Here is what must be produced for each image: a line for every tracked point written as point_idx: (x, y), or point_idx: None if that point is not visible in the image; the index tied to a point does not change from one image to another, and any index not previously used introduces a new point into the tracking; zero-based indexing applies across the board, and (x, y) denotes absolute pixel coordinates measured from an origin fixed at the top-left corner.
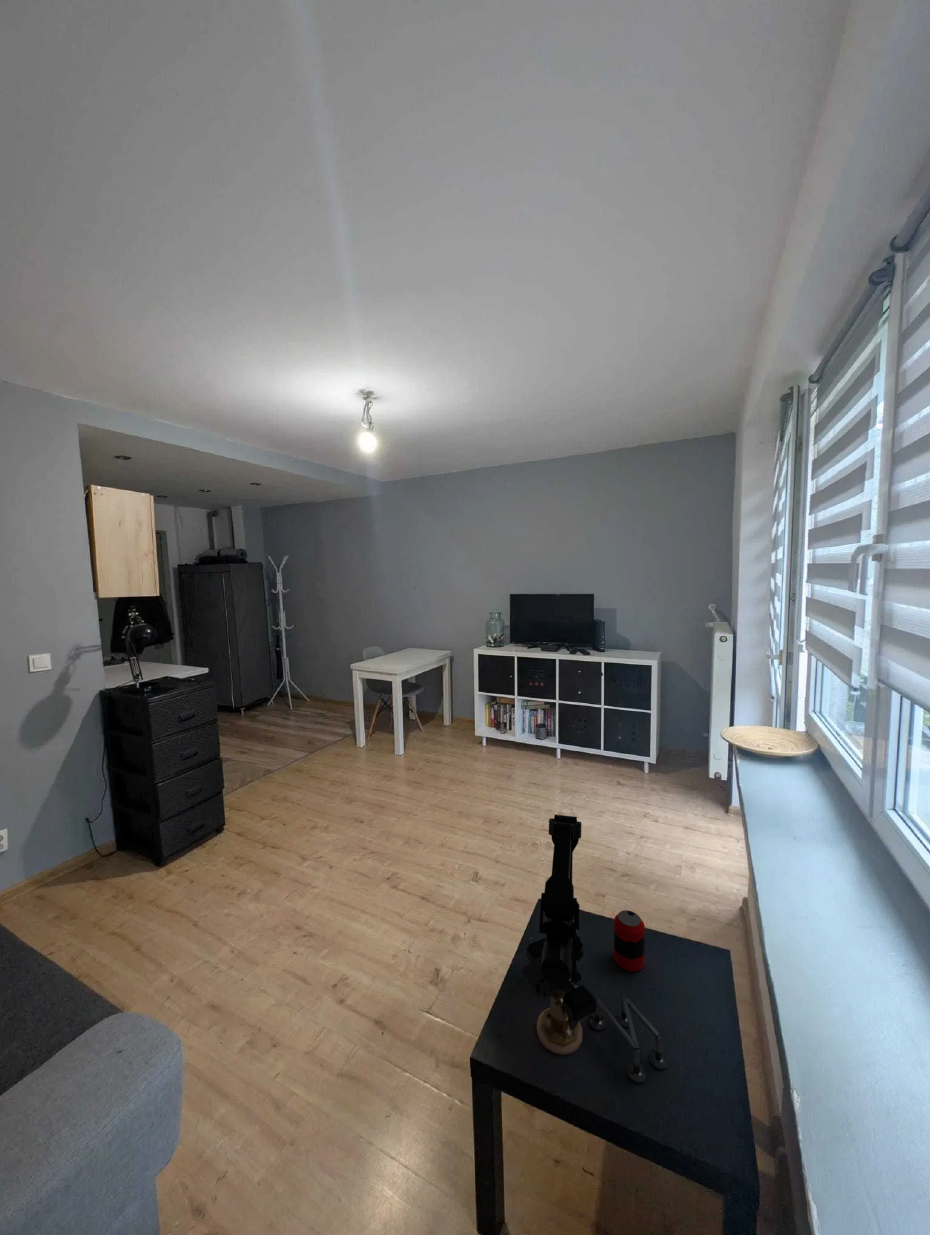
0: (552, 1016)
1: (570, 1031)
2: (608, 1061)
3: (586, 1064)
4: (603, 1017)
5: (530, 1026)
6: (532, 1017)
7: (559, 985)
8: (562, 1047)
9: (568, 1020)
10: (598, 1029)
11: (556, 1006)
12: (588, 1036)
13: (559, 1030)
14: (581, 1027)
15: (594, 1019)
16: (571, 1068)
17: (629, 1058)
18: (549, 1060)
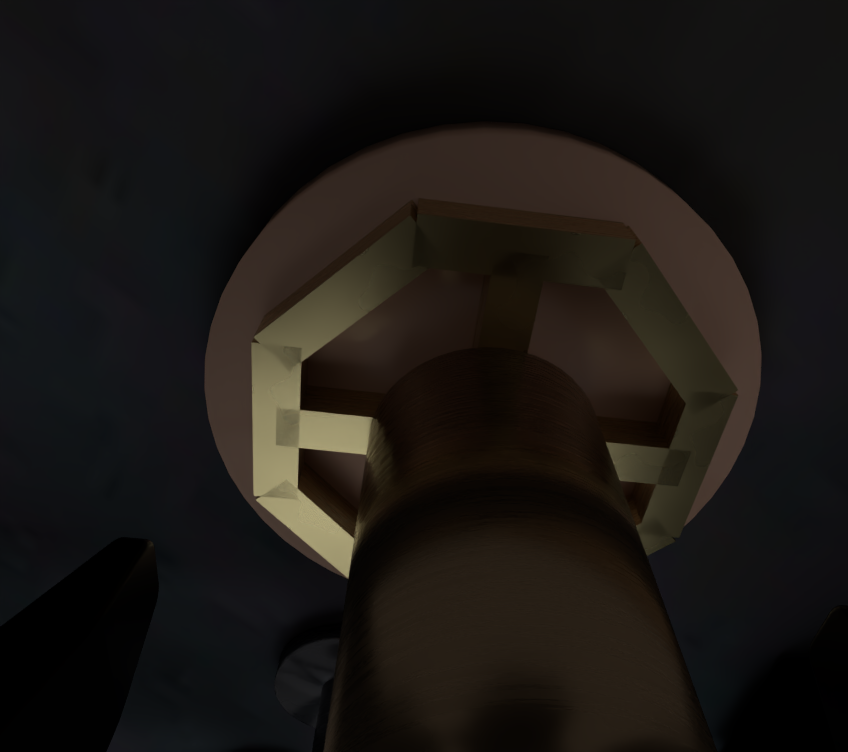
0: (514, 457)
1: None
2: (27, 545)
3: (62, 385)
4: None
5: (764, 142)
6: (822, 246)
7: (809, 668)
8: (266, 294)
9: (22, 686)
10: (288, 650)
11: (423, 708)
12: (289, 559)
13: (398, 397)
14: None
15: None
16: (74, 229)
17: None
18: (262, 52)
